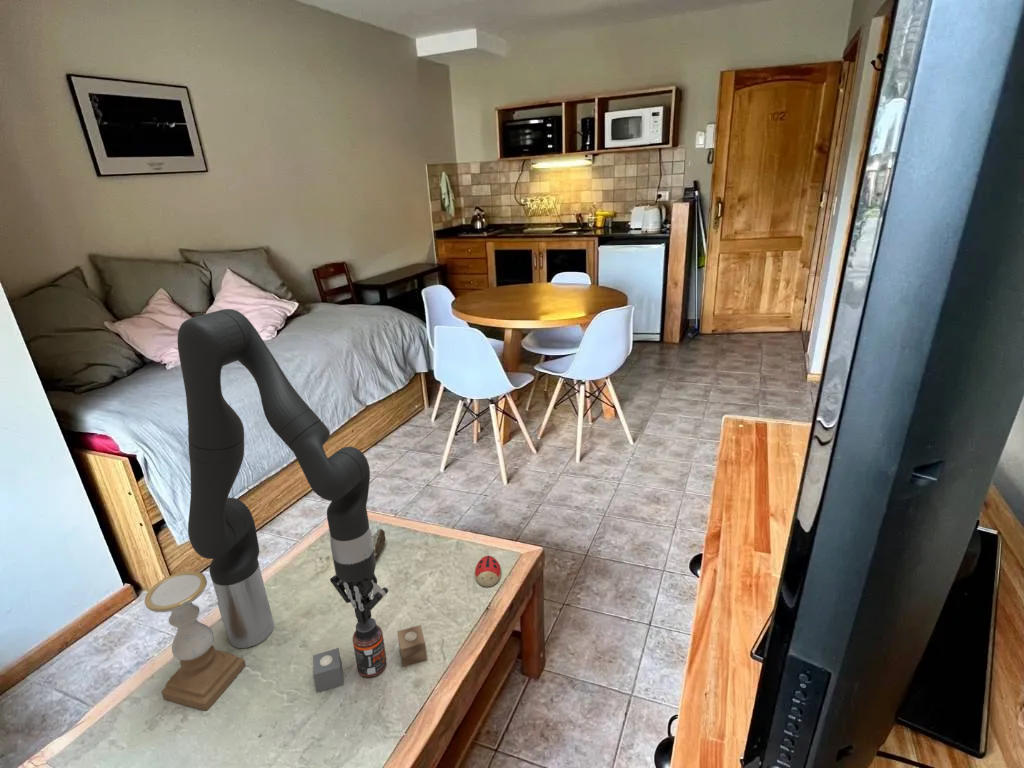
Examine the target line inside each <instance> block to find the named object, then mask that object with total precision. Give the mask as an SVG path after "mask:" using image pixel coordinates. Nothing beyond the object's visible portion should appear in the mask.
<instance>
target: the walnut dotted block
mask: <svg viewBox="0 0 1024 768" xmlns="http://www.w3.org/2000/svg"><path fill="white" fill-rule="evenodd" d="M396 633H397V638H398V639H397V640H398V645H399V652H400V658H401V662H402V668H405V667H409V666H412V665H415V664H419V663H423V662H425V661H428V657H427V648H426V640H425V637H424V632H423V629H422V625H421V624H419V625H416V626H412V627H408V628H404V629H401V630H397V632H396Z"/></svg>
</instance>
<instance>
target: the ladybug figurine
mask: <svg viewBox="0 0 1024 768" xmlns="http://www.w3.org/2000/svg"><path fill="white" fill-rule="evenodd" d="M501 576H502V568H501V564H500V563H499V561H498V560H497V559H496V558H495V557H494V556H492V555H485V556H483V557H482V558H481V559H480V560H479V561H478V563H477V564H476V566H475V569H474V578H475V580H476V582H477V584H478V585H480V586H482V587H485V588H488V587H492V586H494V585H496V584H497V583H498V582H499V581H500V579H501Z"/></svg>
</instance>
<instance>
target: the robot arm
mask: <svg viewBox="0 0 1024 768" xmlns="http://www.w3.org/2000/svg"><path fill="white" fill-rule="evenodd" d="M177 350H178V357H179V363H180V367H181V373H182V374H181V375H182V380H183V385H184V386H183V387H184V391H185V400H186V411H187V413H186V414H187V433H188V434H187V435H188V436H187V443H188V455H189V456H188V457H189V465H190V467H189V468H190V499H189V500H190V501H189V511H188V521H187V522H188V523H187V535H188V539H189V542H190V544H191V546H192V548H193V550H194V551H195V552H196V553H197V554H198V555H199V556H200V557H202V558H204V559H207V560H210V559H211V563H210V565H209V575H210V578H211V582H212V585H213V589H214V592H215V596H216V598H217V607H218V611H219V614H220V617H221V620H222V624H223V628H224V630H225V634H226V636H227V637H228V641H229V642H230V644H231V646H232V647H235V648H237V649H247V648H251V646H252V647H254V646H257V645H259V644H261V643H262V642H263V641H265V640H266V639H268V637H269V636H270V635H271V634H272V632H273V630H274V628H275V626H274V625H275V624H274V619H273V616H272V610H271V606H270V603H269V602H270V601H269V598H268V595H267V591H266V587H265V582H264V579H263V575H262V571H261V567H260V564H259V563H260V562H259V560H258V559H259V555H260V546H259V540H258V534H257V529H256V528H257V527H256V523H255V520H254V516H253V514H252V512H251V509H249V508H248V506H247V504H245V503H244V502H243V501H242V500H240V499H238V498H236V497H229V495H230V493H231V491H232V489H233V485H234V484H235V481H236V479H237V478H238V477H237V476H238V475H239V472H240V470H241V467H242V465H243V462H244V461H243V460H244V457H245V427H244V424H243V421H242V420H241V418H240V416H239V415H238V414H237V412H236V411H235V410H234V408H233V407H232V406H230V404H229V403H228V402H227V401H226V400H225V398H224V396H223V392H222V382H221V381H222V379H221V376H222V375H221V374H222V369H223V368H224V366H227V365H230V364H231V363H235V362H239V363H240V364H241V365H242V366H244V368H246V370H247V371H248V372H249V373H250V375H251V376H252V377H253V379H254V381H255V383H256V386H257V388H258V393H259V397H260V400H261V405H262V410H263V413H264V417H265V419H266V420H267V422H268V423H267V424H269V427H271V429H272V430H273V432H274V433H276V435H277V436H278V437H279V438H280V439H281V440H282V442H283V443H285V445H286V446H287V448H289V449H290V450H291V452H292V453H293V455H294V456H295V458H296V460H297V462H298V464H299V466H300V468H301V470H302V472H303V474H304V476H305V478H306V480H307V483H308V485H309V486H310V488H311V489H312V491H313V492H314V493H315V494H316V496H319V497H320V498H321V499H323V500H326V501H329V502H330V503H329V504H328V507H327V510H326V516H327V517H326V519H327V524H328V531H329V537H330V538H329V539H330V540H329V542H330V550H331V555H332V562H333V567H334V572H335V574H334V575H333V576H332V577H331V578H330V579H329V581H330V583H331V584H332V585H333V587H334V588H335V590H336V591H337V592H338V593H339V595H340V596H341V598H342V599H343V601H344V602H345V603H346V604H349V603H351V606H352V608H353V609H354V615H355V618H356V621H357V623H358V622H359V623H362V624H365V623H366V622H367V621H368V620H369V619H370V618H372V610H373V608H375V606H376V605H378V603H379V602H380V601H381V600H382V599H383V598H384V597H385V596H386V595H387V594H388V593H389V589H388V588H387V587H386V586H383V588H381V587H380V586H379V584H378V579H377V577H376V574H375V573H376V572H375V571H376V567H377V562H376V557H375V553H374V546H373V539H372V536H373V535H372V531H371V528H370V523H369V515H368V514H369V513H368V510H367V504H368V498H369V489H370V482H371V481H370V480H371V469H370V465H369V461H368V459H367V457H366V456H365V454H364V453H363V452H362V451H361V450H360V449H358V448H356V447H354V446H345V447H342V448H340V449H338V450H337V451H335V452H334V453H333V454H332V455H330V456H327V454H326V451H325V449H324V445H325V444H326V442H327V441H328V440H329V439H330V436H331V431H330V429H329V428H328V426H327V425H326V424H325V423H324V422H323V421H322V419H321V418H319V417H320V416H318V415H317V413H315V411H314V410H313V409H312V408H311V407H310V406H309V404H307V403H306V401H305V400H304V399H303V398H302V397H301V396H300V395H299V393H298V392H297V390H296V389H295V388H294V387H293V385H292V383H290V381H289V379H288V377H287V376H286V374H285V372H284V371H283V369H282V368H281V367H280V365H279V363H278V362H277V360H276V358H275V356H274V355H273V354H272V352H271V350H270V349H269V348H268V346H267V344H266V342H265V341H264V340H263V338H262V337H261V335H260V333H259V332H258V330H257V329H256V328H255V326H254V325H253V324H252V322H251V321H250V320H249V319H248V318H247V317H246V315H244V314H243V313H241V312H239V311H238V310H236V309H231V308H225V309H224V308H223V309H219V310H215V311H212V312H208V313H204V314H200V315H198V316H197V315H196V316H193V317H190V318H188V319H186V320H184V321H183V322H182V323H181V325H180V326H179V328H178V332H177Z"/></svg>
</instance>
